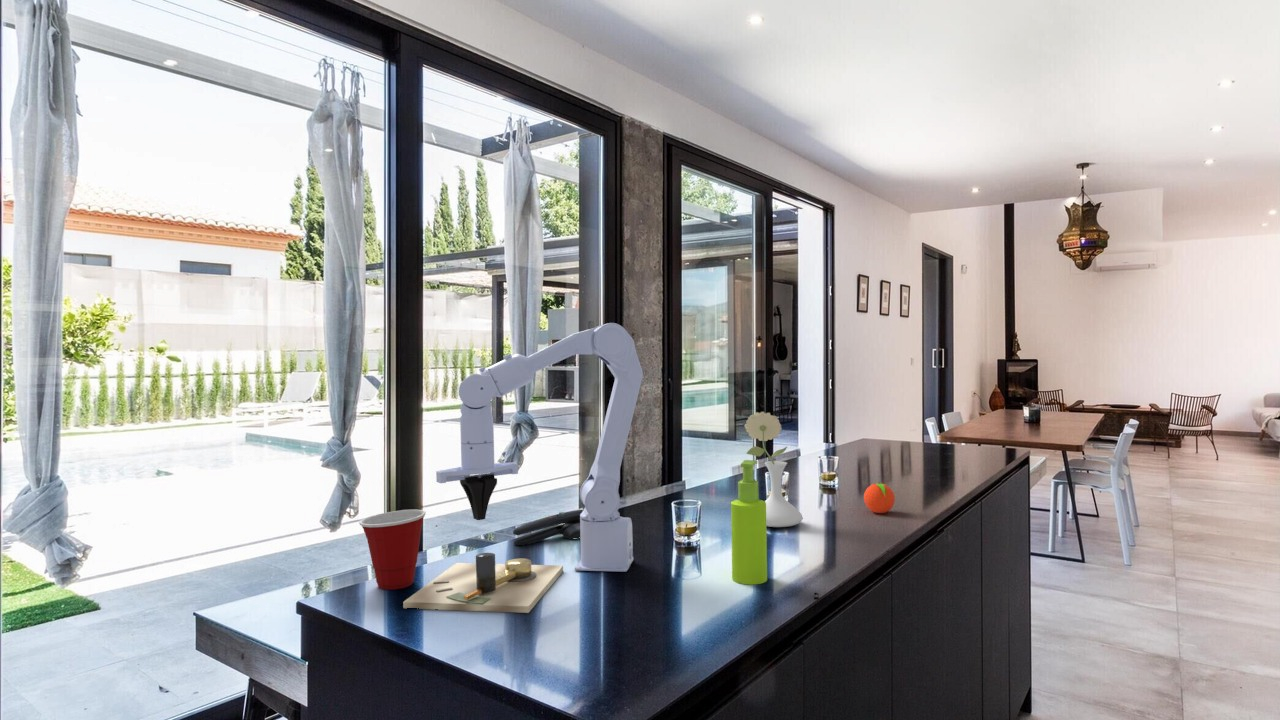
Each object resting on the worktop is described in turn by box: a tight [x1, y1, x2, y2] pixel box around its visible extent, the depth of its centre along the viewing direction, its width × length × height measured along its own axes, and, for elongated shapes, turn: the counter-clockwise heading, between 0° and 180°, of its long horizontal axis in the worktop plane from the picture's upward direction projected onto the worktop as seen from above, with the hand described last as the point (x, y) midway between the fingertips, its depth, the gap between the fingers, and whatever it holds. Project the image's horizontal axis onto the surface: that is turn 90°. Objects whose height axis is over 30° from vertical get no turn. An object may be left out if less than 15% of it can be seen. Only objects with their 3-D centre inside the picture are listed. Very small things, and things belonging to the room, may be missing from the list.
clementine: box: [863, 482, 896, 514], centre depth 174 cm, size 8×7×7 cm
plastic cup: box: [358, 509, 426, 591], centre depth 127 cm, size 11×11×12 cm
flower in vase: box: [744, 411, 804, 528], centre depth 165 cm, size 13×11×25 cm
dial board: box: [402, 562, 564, 614], centre depth 124 cm, size 20×21×1 cm
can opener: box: [512, 509, 584, 546], centre depth 156 cm, size 18×7×6 cm, turn 122°
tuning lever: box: [464, 552, 532, 600], centre depth 121 cm, size 16×4×6 cm, turn 155°
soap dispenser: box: [730, 459, 768, 586], centre depth 127 cm, size 6×7×20 cm
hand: (479, 518), depth 132 cm, fingers closed
